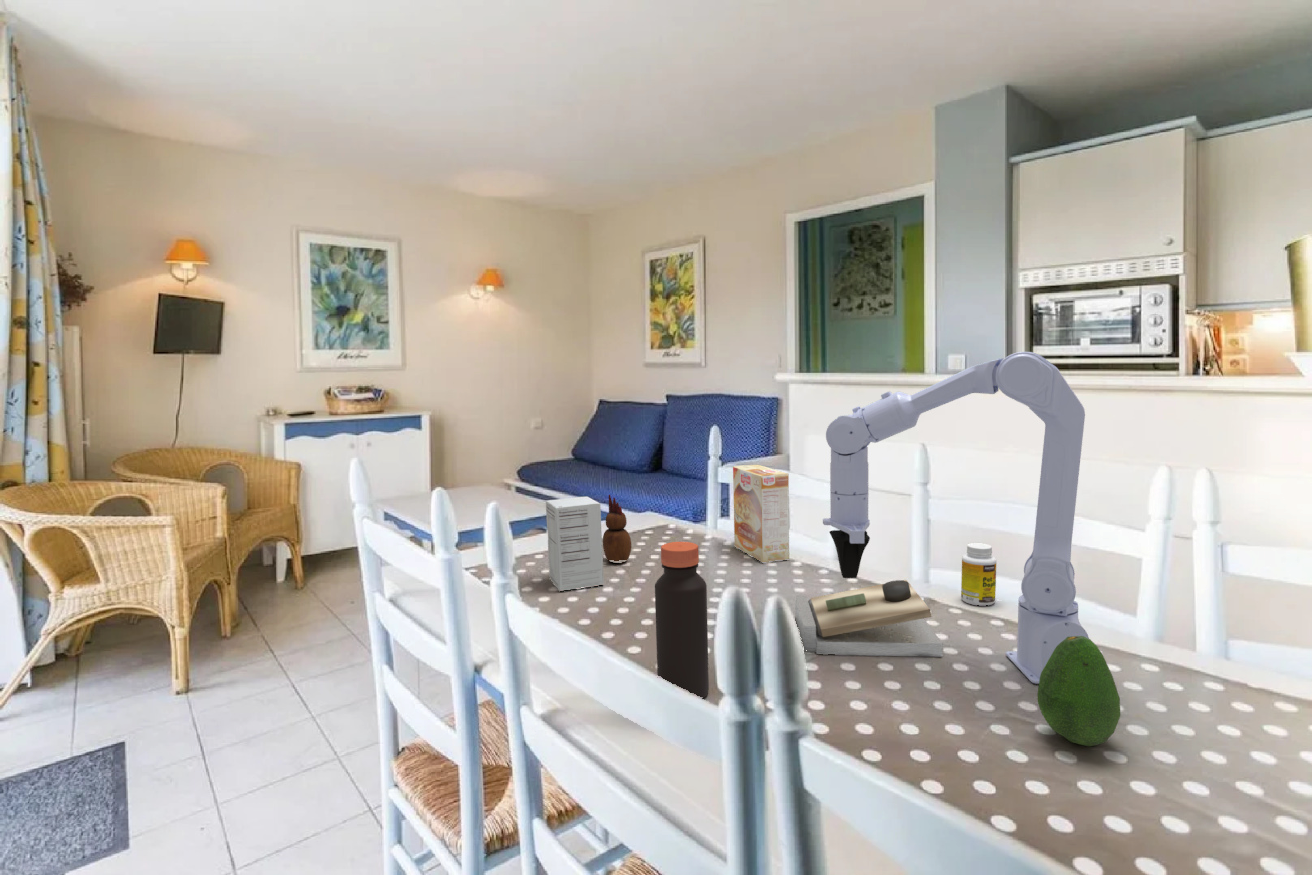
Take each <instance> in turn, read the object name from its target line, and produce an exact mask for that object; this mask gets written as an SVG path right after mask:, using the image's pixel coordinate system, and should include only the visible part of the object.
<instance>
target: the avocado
mask: <svg viewBox="0 0 1312 875" xmlns="http://www.w3.org/2000/svg"><path fill="white" fill-rule="evenodd" d="M1036 695H1037V703H1038V707H1039V710H1040V712H1041V715H1042V716H1043V718H1044V719H1045V721H1046V723H1047V725H1048V726H1049V727H1050V728H1051V729H1052V730H1053V731H1054V733H1057V734H1058V735H1060V736H1062V737H1063V738H1065V739H1066V740H1067V741H1069V742H1070V743H1073V744H1076V745H1079V746H1085V747H1093V746H1096V745H1101V744H1104V743H1105V742H1107V740H1108V739H1109V738H1111V736H1112V735H1113V734H1114V733H1115V731H1116V729H1117V726H1118V723H1119V721H1120V718H1121V716H1122V715H1121V701H1120V695H1119V692H1118V689H1117V686H1116V683H1115V680H1114V677H1113V673H1112V672H1111V670H1110V668H1109V665H1108V663H1107V661H1106V659H1105V656H1104V655H1103V653H1102V652H1101V650H1100V648H1099V647H1098V646H1097V644H1095V642H1093V640H1092V639H1090V638H1089V639H1088V638H1086V637H1084V636H1074V637H1067V638H1066V639H1065V640H1063V641H1062V642H1061V643H1060V644H1059V645H1057V647H1056V648H1055V650H1054V651H1053V653H1052V655H1051V657H1050V658H1049V660H1048V662H1047V664H1046V665H1045V667H1044V669H1043V671H1042V672H1041V675H1040V680H1039V684H1038V687H1037V694H1036Z"/></svg>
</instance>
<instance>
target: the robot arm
mask: <svg viewBox="0 0 1312 875" xmlns="http://www.w3.org/2000/svg"><path fill="white" fill-rule="evenodd" d="M999 390H1000V392H1001V393H1003V394H1004V395H1005V396H1007V397H1008V398H1010V399H1012V400H1013V401H1016V402H1018V403H1020V404H1022V405H1024V406H1026V407H1028V409H1029V410H1031V411H1032V412H1033V413H1034V414H1035V415H1036V416H1037V417H1038V418H1039V419H1041V421H1042V422H1043V423H1044V425H1045V426H1044V436H1043V437H1044V438H1043V445H1042V446H1043V447H1042V456H1041V466H1040V467H1041V468H1040V475H1039V486H1038V487H1039V488H1038V497H1037V505H1036V507H1037V509H1036V518H1035V528H1034V529H1035V530H1034V538H1033V547H1032V553H1031V554H1030V555H1029V557H1028V558H1027V559H1026V560H1025V563H1024V566H1023V577H1022V579H1021V586H1020V587H1021V594H1022V595H1020V596H1019V597H1018V598H1017V599H1018V606H1017V607H1018V608H1017V609H1018V610H1017V638H1016V640H1017V643H1016V646H1017V648H1016V650H1015V651H1013V650H1012V651H1011V650H1010V651H1006V652H1005V655H1006V657H1007V658H1008V659H1009V660H1010V661H1011V662H1012V663H1013V664H1014V665H1015V666H1016V668H1018V670H1020V672H1022V674H1023V675H1024V676H1025V677H1026V678H1027V679H1028V680H1029V681H1030V682H1031V683H1032V684H1038V685H1039V680H1040V675H1041V672H1042V671H1043V669H1044V667H1045V665H1046V664H1047V662H1048V660H1049V658H1050V657H1051V655H1052V653H1053V651H1054V650H1055V648H1056V647H1057V645H1059V644H1060V643H1061V642H1062V641H1063V640H1065V639H1066V638H1067V637H1074V636H1084V637H1086V638H1088V639H1090V637H1089V635H1088V632H1087V630H1086V629H1085V628H1084V627H1083V626H1082V624H1081V623H1080V619H1079V603H1078V602H1077V601H1075V599H1076V595H1077V594H1076V593H1077V589H1076V588H1077V587H1076V585H1075V568H1074V566H1073V564H1072V562H1071V561H1072V560H1071V559H1072V545H1073V544H1072V542H1073V531H1074V524H1075V515H1076V514H1075V513H1076V503H1077V497H1078V496H1077V495H1078V494H1077V493H1078V487H1079V486H1078V485H1079V475H1080V465H1081V456H1082V446H1083V437H1084V429H1085V428H1084V427H1085V421H1086V420H1085V418H1086V412H1085V408H1084V405H1083V404H1082V402H1081V400H1080V399H1079V398H1078V396H1077V395H1076V394H1075V392H1074V390H1073V389H1072V388H1071V386H1070V384H1069V383H1068V382H1067V380H1066V379H1065V378H1064V376H1063V374H1062V372H1061V371H1060V370H1059V368H1058V367H1057V366H1056V365H1054V364H1053V363H1052V362H1051V361H1049V360H1047V359H1046V358H1045V357H1044V356H1042V355H1041V354H1039V353H1036V352H1033V351H1017V352H1014V353H1011V354H1009V355H1008V356H1006V357H1001V358H996V359H993V360H988V361H985V362H982V363H980V364H979V363H978V364H975V365H972V366H970V367H967V368H965V369H963V370H961V371H960V372H957V373H955V374H953V375H951V376H949V377H947V378H945V379H943V380H940V381H938V382H936V383H934V384H931V385H930V386H928V387H926V388H924V389H921V390H920V391H918V392H915V393H913V394H908V393H904V392H901V391H895V392H894V393H892V392H891V391H890V390H889V391H887V392H884V393H881V395H880V397H881V399H878V400H876V401H874V402H872V403H870V404H867V405H865V406H863V407H861V406H860V405H859V406H855V407H853V408H852V409H851V410H852V413H851V414H848V415H840V416H838V417H837V418H835V419H834V420H832V421H831V422H830V423H829V424H828V426H827V428H826V431H825V439H826V442H827V445H828V446H829V448H830V463H829V466H830V467H829V468H830V469H829V472H830V473H829V474H830V478H829V479H830V481H829V482H830V484H829V486H830V492H829V493H830V499H829V502H830V507H829V508H830V517H828V518H827V517H826V518H825V517H824V518H823V519H822V524H823V525H824V526H831V527H833V528H835V529H837V530H835V529H834V530H830V531H829V534H830V536H831V539H832V540H833V543H834V546H835V549H836V553H837V557H838V559H837V560H838V563H839V570H840V573H841V576H842V578H843V579H857V577H858V575H859V570H860V566H861V563H862V562H861V561H862V558H863V553H864V551H865V549H866V547H867V546H868V545H869V542H870V540H871V538H870V536H869V534H868V531H867V529H868V528H869V527H870V524H871V523H870V519H869V462H868V460H869V459H868V458H869V457H868V456H869V454H868V453H869V452H868V449H869V447H868V446H869V445H870V444H871V443H874V444H875V443H879V442H882V441H884V440H886V439H889V438H891V437H894V436H896V435H898V434H901V433H902V432H904V431H907V430H911V429H912V428H914V427H916V425H917V423H918V420H919V418H920V416H921V415H922V414H923V413H926V412H928V411H929V412H930V411H932V410H933V409H936V408H938V407H941V406H943V405H946V404H948V403H950V402H953V401H956V400H959V399H961V398H963V397H966V396H968V395H971V394H984V395H987V394H988V395H995V394H997V393H998V392H999Z"/></svg>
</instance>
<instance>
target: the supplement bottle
mask: <svg viewBox="0 0 1312 875" xmlns="http://www.w3.org/2000/svg"><path fill="white" fill-rule="evenodd" d="M992 554H993V547H992V545H990V544H987V543H981V542H971V543H968V544H967V545H966V553H965V554H963V555H962V558H961V583H960V585H961V586H960V587H961V588H960V589H961V590H960V597H961V600H962V601H963V602H964V603H967V604H969V605H973V606H977V605H979V606H978V607H980V606H982V607H986V605H988V606H991V605H993V604H995V602H996V590H997V589H996V588H997V584H996V583H997V559H996V557H995V556H993V555H992Z"/></svg>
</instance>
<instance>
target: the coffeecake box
mask: <svg viewBox="0 0 1312 875" xmlns="http://www.w3.org/2000/svg"><path fill="white" fill-rule="evenodd" d="M732 477H733V480H732V481H733V483H732V484H733V487H732V488H733V532H734V534H733V535H734V537H733V538H734V545H735V546H736V547H737V548H740V549H741V550H742V551H744V552H746V553H748V554H749V555H751V556H753V557H754V558H756V559H757V560H760V561H761V562H769V561H775V560H785V559H789V560H790V499H789V498H790V497H789V496H790V495H789V493H790V492H789V491H790V490H789V487H790V486H789V481H790V480H789V479H790V478H789V473H787V472H783V471H781V470H778V469H775V468H771V467H767V466H764V465H760V464H749V465H748V464H746V465H742V464H741V465H734V466H733V467H732ZM737 548H736V549H737ZM742 551H741V552H742ZM744 552H743V553H744ZM749 555H748V556H749ZM754 558H753V559H754ZM756 559H755V560H756ZM757 560H756V561H757ZM761 562H760V563H761Z"/></svg>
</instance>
